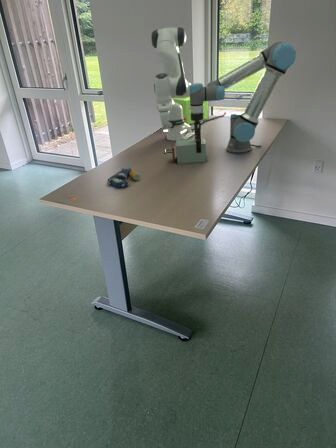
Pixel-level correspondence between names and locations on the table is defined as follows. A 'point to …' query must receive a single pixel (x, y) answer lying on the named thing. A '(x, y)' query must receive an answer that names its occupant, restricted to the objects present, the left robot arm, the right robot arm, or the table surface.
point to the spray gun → (123, 177)
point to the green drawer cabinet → (190, 151)
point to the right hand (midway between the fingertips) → (198, 149)
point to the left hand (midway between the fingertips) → (166, 129)
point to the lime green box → (186, 111)
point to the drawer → (171, 152)
